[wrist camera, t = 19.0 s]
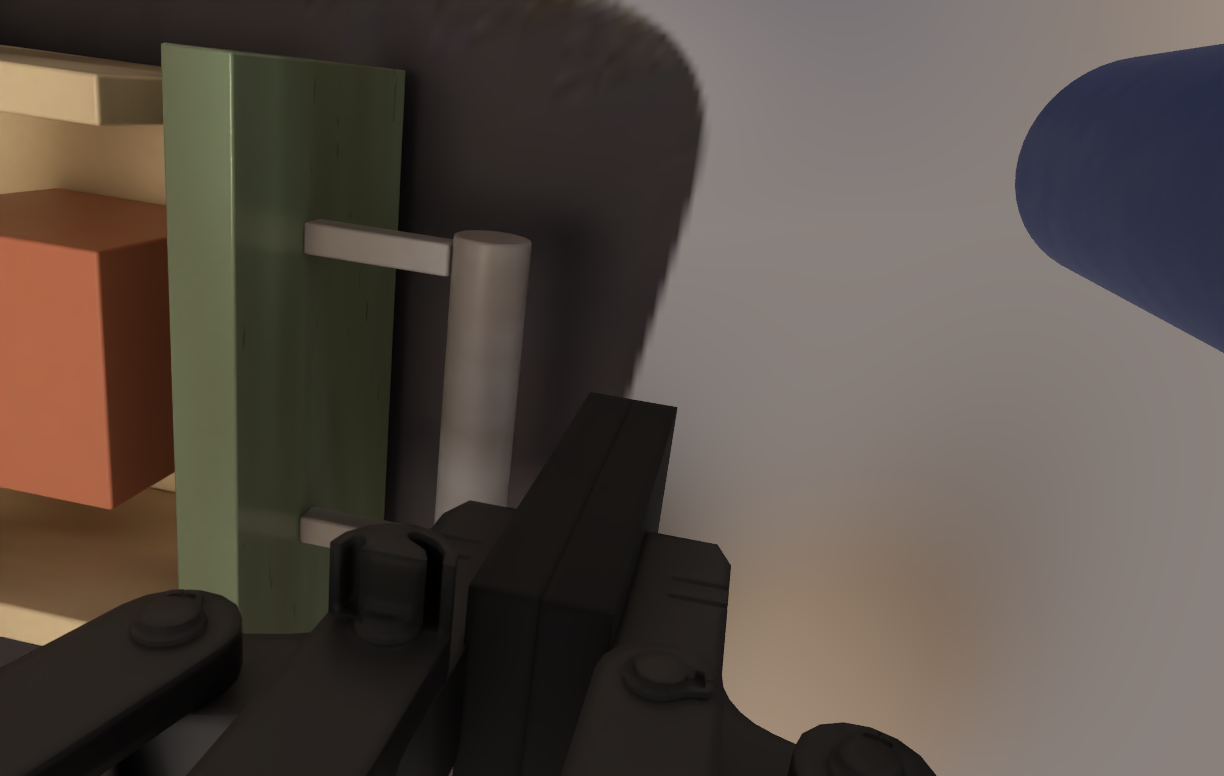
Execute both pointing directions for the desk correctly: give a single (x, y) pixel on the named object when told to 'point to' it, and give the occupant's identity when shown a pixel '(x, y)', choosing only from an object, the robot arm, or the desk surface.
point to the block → (84, 346)
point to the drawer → (255, 327)
